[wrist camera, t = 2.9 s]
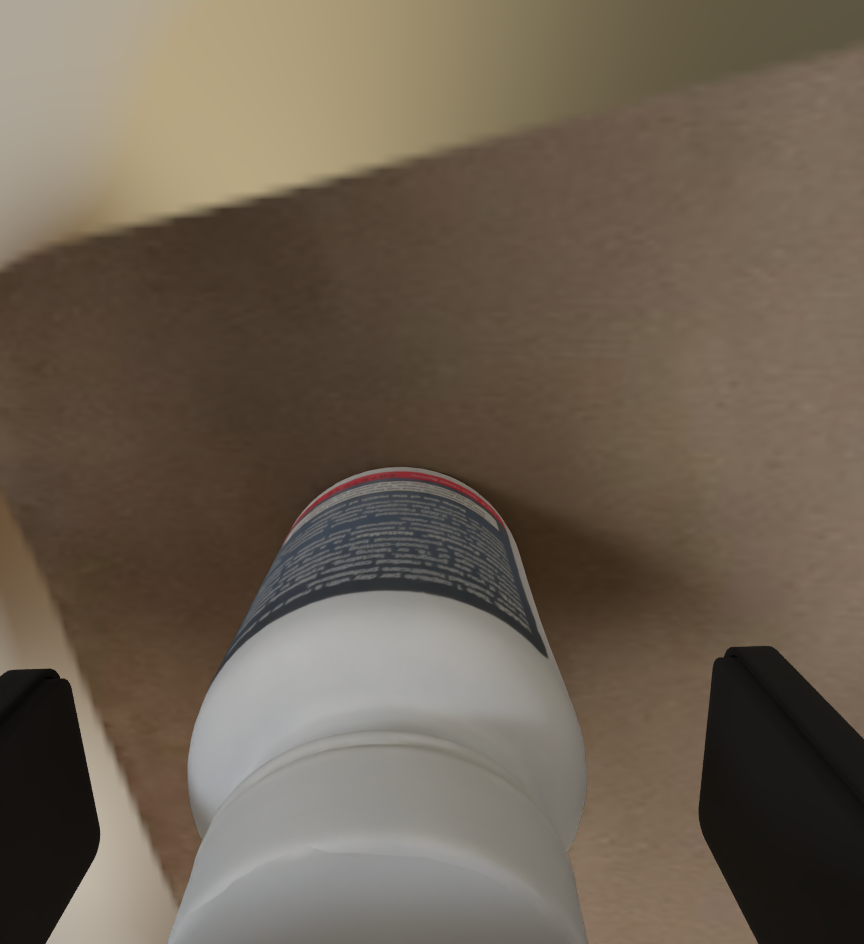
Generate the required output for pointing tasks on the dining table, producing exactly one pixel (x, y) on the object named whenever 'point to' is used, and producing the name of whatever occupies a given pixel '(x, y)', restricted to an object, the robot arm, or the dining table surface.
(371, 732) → the pill bottle
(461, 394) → the dining table surface
